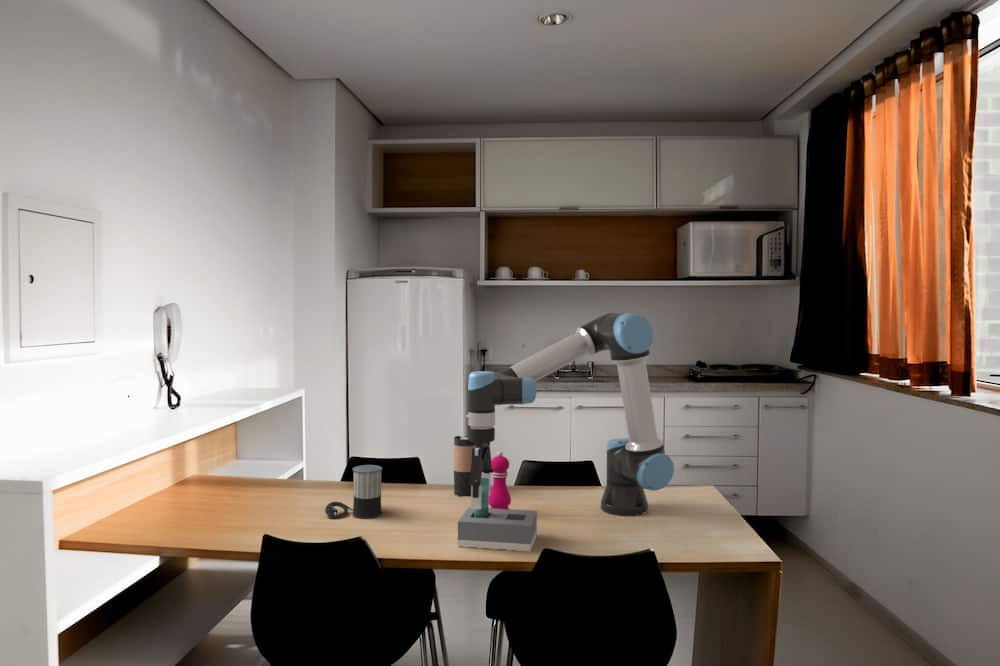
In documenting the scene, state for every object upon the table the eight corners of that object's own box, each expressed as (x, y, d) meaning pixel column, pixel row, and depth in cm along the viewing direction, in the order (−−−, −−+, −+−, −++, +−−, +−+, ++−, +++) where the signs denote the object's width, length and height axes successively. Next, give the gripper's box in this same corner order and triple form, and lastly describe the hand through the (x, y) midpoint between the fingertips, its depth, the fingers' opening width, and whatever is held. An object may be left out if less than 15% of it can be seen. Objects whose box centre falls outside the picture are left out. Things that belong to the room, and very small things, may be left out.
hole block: (536, 535, 201) (536, 510, 201) (530, 551, 187) (530, 525, 187) (468, 530, 205) (468, 507, 204) (457, 546, 191) (457, 521, 191)
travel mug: (467, 498, 239) (467, 440, 239) (449, 494, 243) (449, 437, 243) (479, 493, 246) (480, 436, 245) (461, 490, 250) (462, 434, 249)
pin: (489, 530, 198) (490, 478, 198) (486, 535, 195) (487, 481, 194) (475, 529, 199) (476, 477, 199) (472, 534, 195) (473, 480, 195)
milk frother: (388, 514, 220) (388, 468, 219) (345, 525, 209) (345, 476, 208) (361, 505, 230) (361, 460, 229) (319, 515, 219) (319, 468, 218)
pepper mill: (508, 518, 217) (508, 454, 216) (485, 516, 218) (486, 453, 218) (512, 511, 224) (513, 449, 223) (490, 510, 226) (491, 448, 225)
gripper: (477, 419, 209) (476, 490, 209) (458, 434, 184) (457, 514, 185) (502, 420, 207) (501, 491, 208) (486, 435, 183) (485, 515, 184)
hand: (481, 502), depth 196 cm, fingers open, 13 cm apart
